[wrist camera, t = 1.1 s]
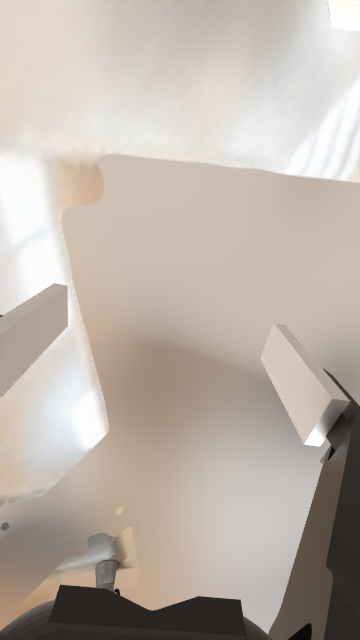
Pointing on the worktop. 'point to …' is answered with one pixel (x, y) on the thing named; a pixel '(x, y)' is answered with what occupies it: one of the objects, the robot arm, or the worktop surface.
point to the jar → (345, 14)
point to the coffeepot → (106, 575)
